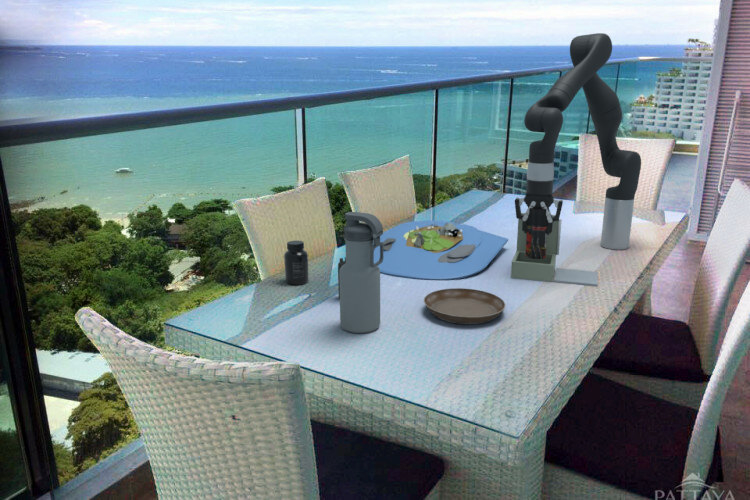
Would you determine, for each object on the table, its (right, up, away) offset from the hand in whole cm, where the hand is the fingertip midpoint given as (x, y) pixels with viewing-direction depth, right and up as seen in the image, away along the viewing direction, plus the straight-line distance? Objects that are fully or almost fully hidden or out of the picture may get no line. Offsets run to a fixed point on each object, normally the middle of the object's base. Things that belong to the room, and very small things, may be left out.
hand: (536, 233), depth 189 cm
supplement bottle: (-71, -14, -3) cm, 73 cm away
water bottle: (-52, -24, -34) cm, 66 cm away
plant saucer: (-25, -21, -26) cm, 42 cm away
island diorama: (-30, -8, +20) cm, 37 cm away
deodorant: (0, -7, +2) cm, 7 cm away
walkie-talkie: (-56, -18, -16) cm, 61 cm away
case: (0, -12, +3) cm, 13 cm away
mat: (+12, -13, 0) cm, 18 cm away
